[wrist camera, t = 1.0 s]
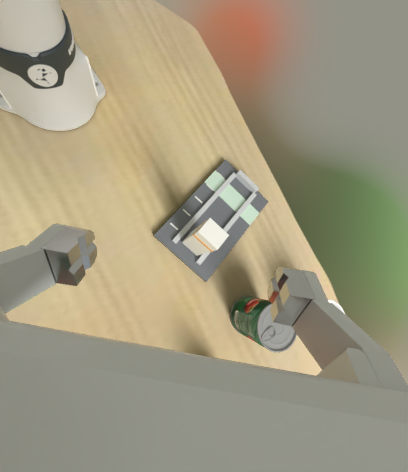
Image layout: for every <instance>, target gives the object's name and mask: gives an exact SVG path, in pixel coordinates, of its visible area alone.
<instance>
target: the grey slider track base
mask: <svg viewBox="0 0 408 472" xmlns="http://www.w3.org/2000/svg"><path fill="white" fill-rule="evenodd" d="M258 189H259V188H258V187H257V186H256V185H255V184H254V183H253V182H252V181H251V180H250V179H249V178H248V177H247V176H246V175H245V174H244V173H243V172H242V171H241V170H240V171H239V172H238V171H237V170H236V169H235V168H234V167H233V166H232V165H231V164H230V163H229V162H228V161H227V160H225V161H224V162H223V163H222V164H221V165H220V166H219V167H218V168H217V169H216V170H215V171H214V172H213V173H212V174H211V175H210V177H209V178H208V179H207V180H206V181H205V182H204V183H203V184H202V185H201V186H200V187H199V188H198V189H197V190H196V191H195V192H194V193H193V195H192V196H191V197H190V198H189V199H188V200H187V201H186V202H185V203H184V204H183V205H182V206H181V207H180V208H179V209H178V210H177V211H176V212H175V214H174V215H173V216H172V217H171V218H170V219H169V220H168V221H167V222H166V223H165V224H164V225H163V226H162V227H161V228H160V229H159V230H158V231H157V232H156V234H155V235H154V237H155V238H156V239H157V240H159V241H160V242H161V243H162V244H163V245H164V246H165V247H166V248H168V249H169V250H170V251H171V252H172V253H173V254H174V255H176V256H177V257H178V258H179V259H180V260H181V261H182V262H183V263H185V264H186V265H187V266H188V267H189V268H190V269H191V270H193V271H194V272H195V273H196V274H197V275H198V276H199V277H200V278H202V279H203V280H204V281H206V282H207V280H208V279H209V278H210V276H211V275H212V274H213V273H214V271H215V270H216V269H217V267H218V266H219V265H220V263H221V262H222V261H223V260H224V258H225V257H226V256H227V254H228V253H229V252H230V250H231V249H232V248H233V247H234V245H235V244H236V243H237V241H238V240H239V239H240V237H241V236H242V235H243V234H244V232H245V231H246V230H247V228H248V227H249V226H250V225H251V223H252V222H253V221H254V220H255V218H256V217H257V216H258V214H259V213H260V212H261V210H262V209H263V208H264V206H265V205H266V204H267V202H268V201H267V200H266V199H265V198H264V197H263V196H262V195H261V194H260V193H259V192H258ZM209 218H211V219H212V220H213V221H214V222H215V223H216V224H218V225H219V226H220V227H221V228H222V229H223V230H224V231H225V232H226V233H227V234H228V235H229V236H228V237H227V239H226V240H225V241H224V242H223V244H222V245H221V246H220V247H219V249H218V250H215V251H213V252H208V253H205V254H201V255H198V256H196V255H195V254H194V253H193V252H192V251H191V250H190V249H188V248H187V247H186V246H185V245H184V244H183V243H182V242H183V241H184V239H185V238H186V237H187V236H188V235H189V234H190V233H191V232H192V231H193V230H194V229H196V228H197V227H198V226H200V225H201V224H202V223H204V221H206V220H208V219H209Z"/></svg>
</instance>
